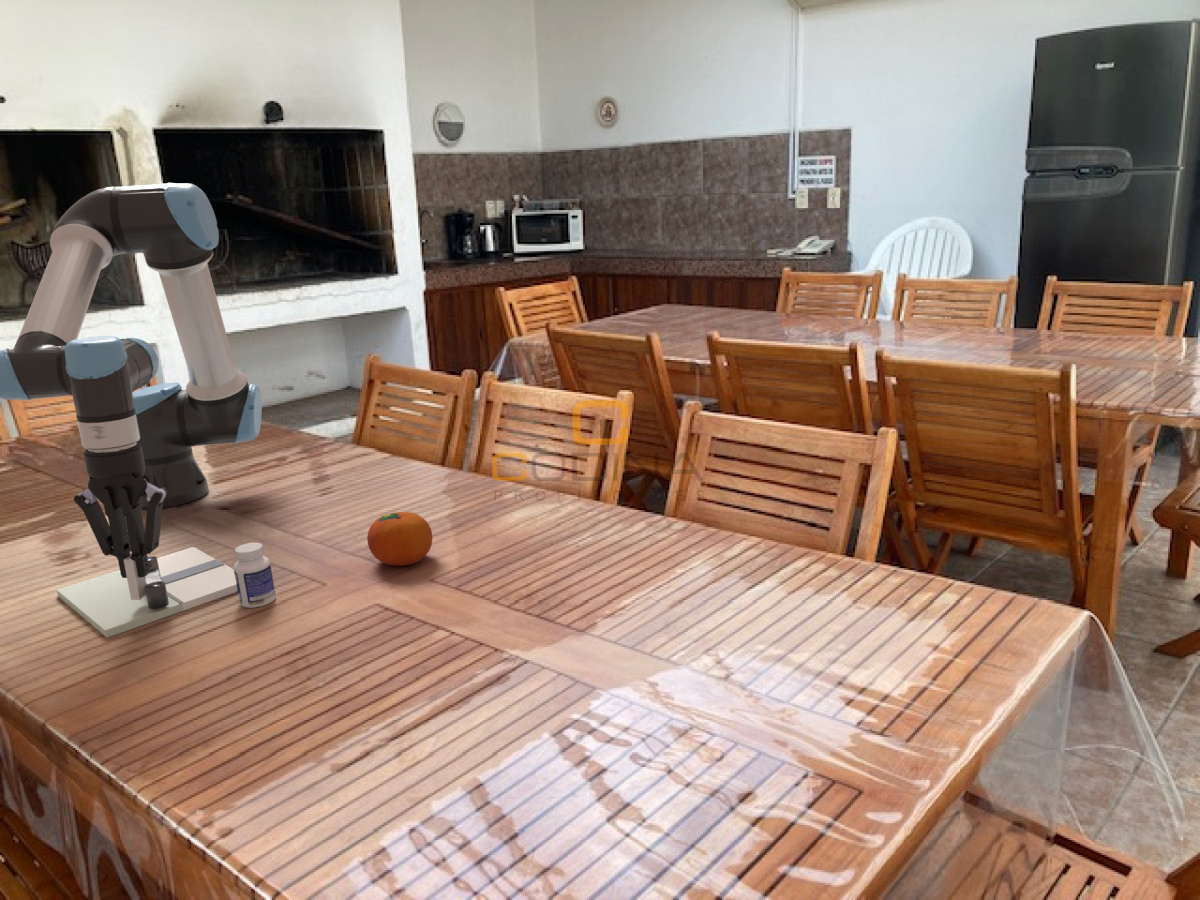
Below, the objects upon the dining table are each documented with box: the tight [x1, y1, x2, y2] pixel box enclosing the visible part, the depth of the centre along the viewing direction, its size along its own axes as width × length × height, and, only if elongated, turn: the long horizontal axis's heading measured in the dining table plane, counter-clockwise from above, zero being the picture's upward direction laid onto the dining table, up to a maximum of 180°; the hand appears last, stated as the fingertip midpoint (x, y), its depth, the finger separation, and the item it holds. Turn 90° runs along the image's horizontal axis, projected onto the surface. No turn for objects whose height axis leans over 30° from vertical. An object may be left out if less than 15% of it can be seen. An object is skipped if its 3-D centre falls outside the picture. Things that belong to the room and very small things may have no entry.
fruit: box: [366, 511, 433, 567], centre depth 155 cm, size 11×10×8 cm
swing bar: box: [144, 555, 169, 609], centre depth 144 cm, size 13×3×4 cm, turn 29°
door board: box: [56, 546, 238, 638], centre depth 149 cm, size 22×22×1 cm
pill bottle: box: [233, 542, 277, 609], centre depth 142 cm, size 5×5×9 cm
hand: (139, 596), depth 141 cm, fingers closed
